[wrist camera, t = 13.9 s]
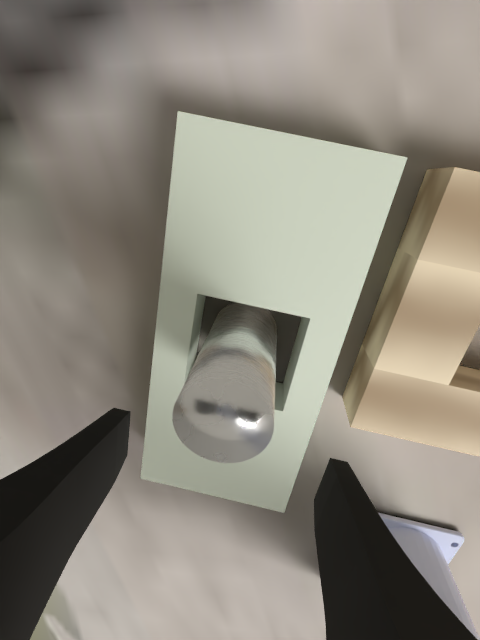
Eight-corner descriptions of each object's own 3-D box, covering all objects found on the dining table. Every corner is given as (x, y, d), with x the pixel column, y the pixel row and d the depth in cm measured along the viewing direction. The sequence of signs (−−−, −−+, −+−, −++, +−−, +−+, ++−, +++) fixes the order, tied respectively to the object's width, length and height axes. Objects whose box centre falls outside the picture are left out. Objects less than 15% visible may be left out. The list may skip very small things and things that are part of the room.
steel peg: (267, 365, 22) (258, 473, 14) (208, 349, 22) (165, 448, 14) (284, 310, 21) (286, 395, 12) (221, 293, 21) (181, 367, 13)
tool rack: (283, 477, 26) (284, 513, 23) (155, 447, 26) (140, 478, 23) (387, 161, 17) (407, 157, 14) (194, 122, 18) (177, 111, 15)
